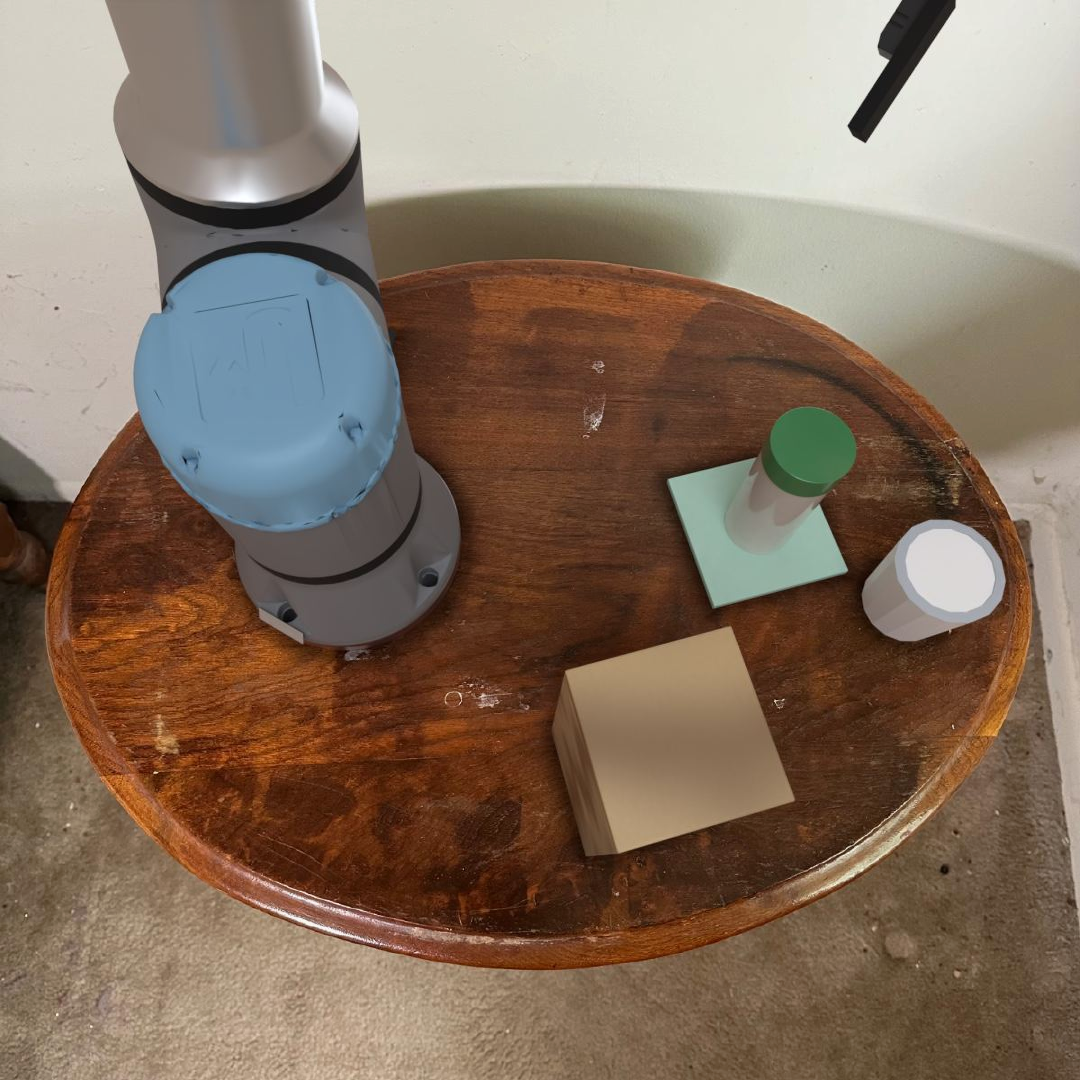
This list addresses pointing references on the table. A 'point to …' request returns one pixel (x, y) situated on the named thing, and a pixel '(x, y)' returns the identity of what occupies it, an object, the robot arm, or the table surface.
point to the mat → (733, 568)
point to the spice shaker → (789, 478)
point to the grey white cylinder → (934, 582)
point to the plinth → (665, 743)
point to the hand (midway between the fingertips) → (978, 207)
